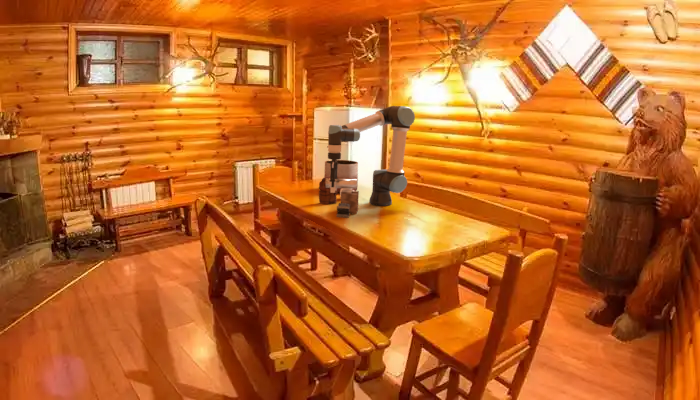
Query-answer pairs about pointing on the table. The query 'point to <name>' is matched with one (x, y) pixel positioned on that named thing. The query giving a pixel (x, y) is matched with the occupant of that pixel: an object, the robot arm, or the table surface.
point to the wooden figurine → (326, 193)
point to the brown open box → (350, 199)
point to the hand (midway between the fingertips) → (333, 191)
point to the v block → (343, 210)
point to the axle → (343, 183)
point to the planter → (343, 170)
